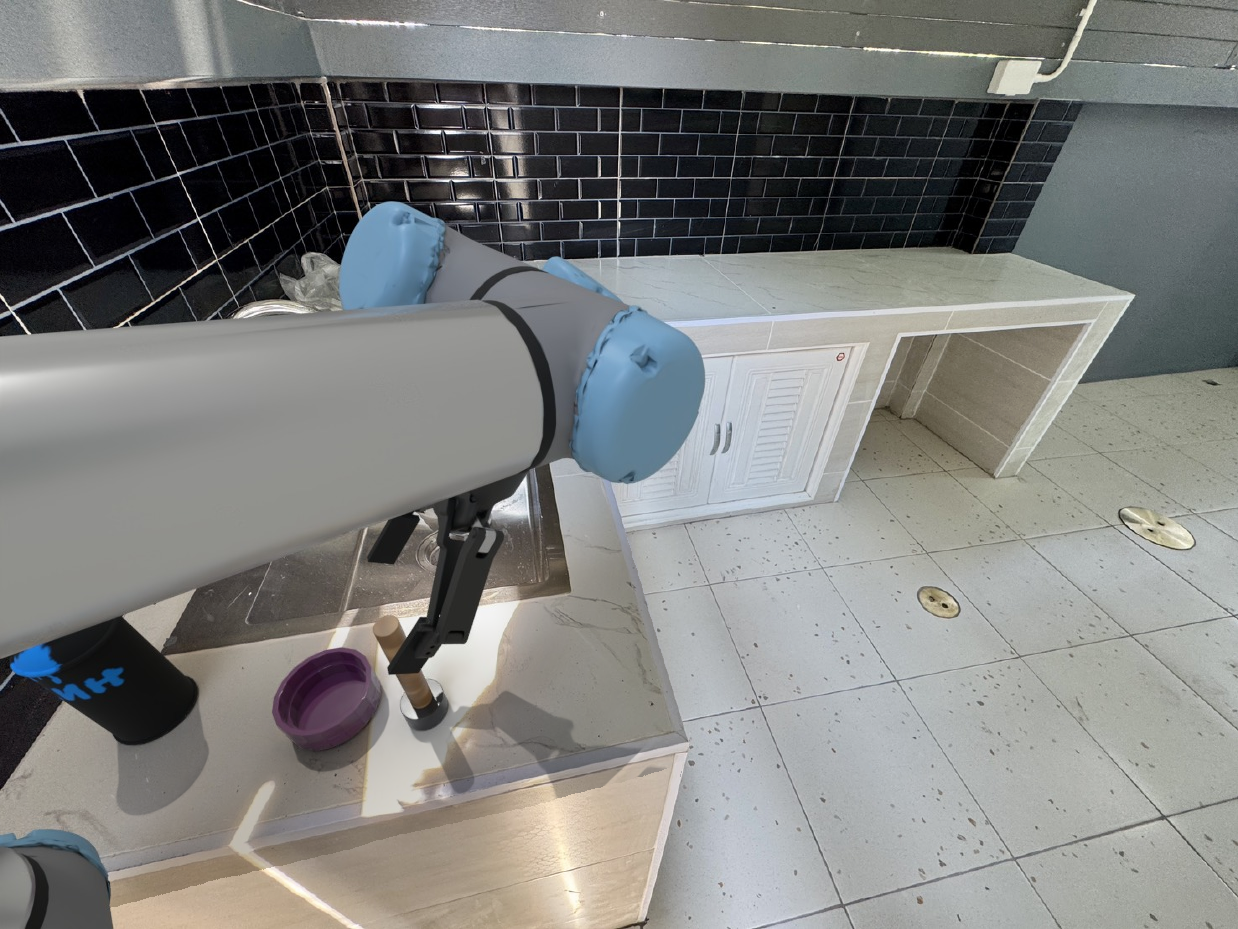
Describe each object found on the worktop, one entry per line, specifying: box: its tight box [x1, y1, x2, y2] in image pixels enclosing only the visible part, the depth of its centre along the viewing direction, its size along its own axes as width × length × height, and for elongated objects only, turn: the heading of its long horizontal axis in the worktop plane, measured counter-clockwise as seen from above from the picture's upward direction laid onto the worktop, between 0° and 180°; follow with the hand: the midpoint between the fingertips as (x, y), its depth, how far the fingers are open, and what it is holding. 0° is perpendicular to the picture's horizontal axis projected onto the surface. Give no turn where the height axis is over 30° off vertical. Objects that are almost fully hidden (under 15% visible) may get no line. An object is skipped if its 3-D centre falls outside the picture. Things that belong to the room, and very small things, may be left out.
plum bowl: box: [271, 646, 381, 752], centre depth 59 cm, size 10×10×4 cm
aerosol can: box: [9, 615, 199, 746], centre depth 53 cm, size 8×8×20 cm
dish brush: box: [372, 614, 449, 732], centre depth 55 cm, size 5×5×18 cm
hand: (390, 610), depth 49 cm, fingers open, 13 cm apart
